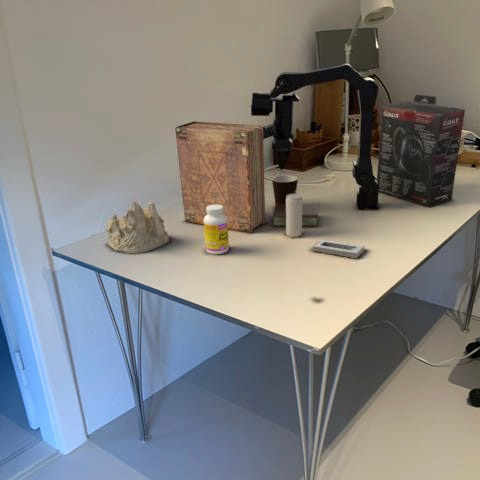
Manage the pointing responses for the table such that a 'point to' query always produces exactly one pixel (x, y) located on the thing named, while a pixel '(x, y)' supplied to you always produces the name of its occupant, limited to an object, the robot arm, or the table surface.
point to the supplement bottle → (216, 230)
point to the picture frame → (339, 249)
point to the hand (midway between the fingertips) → (282, 165)
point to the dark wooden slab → (308, 215)
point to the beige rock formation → (137, 230)
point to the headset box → (419, 150)
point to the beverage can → (294, 215)
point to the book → (222, 172)
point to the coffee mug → (284, 187)
